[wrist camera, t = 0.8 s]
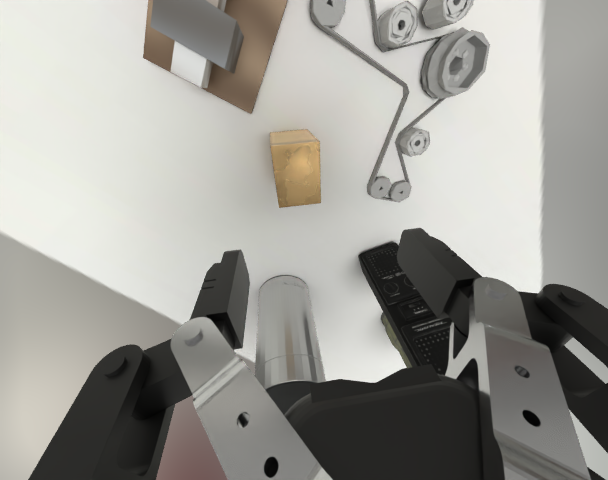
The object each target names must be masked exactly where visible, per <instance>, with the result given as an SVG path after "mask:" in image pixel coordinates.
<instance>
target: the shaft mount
mask: <svg viewBox="0 0 608 480" xmlns="http://www.w3.org/2000/svg"><path fill="white" fill-rule="evenodd" d="M287 1H288V0H148V10H147V21H146V32H145V43H144V54H143V58H144V59H146V60H148V61H150V62H152V63H154V64H156V65H158V66H160V67H162V68H164V69H166V70H168V71H169V72H171V73H173V74H175V75H177V76H179V77H181V78H183V79H185V80H187V81H189V82H191V83H193V84H194V85H196V86H198V87H200V88H202V89H204V90H206V91H208V92H210V93H212V94H214V95H216V96H218V97H220V98H221V99H223V100H225V101H227V102H229V103H231V104H233V105H235V106H237V107H239V108H241V109H243V110H245V111H247V112H248V113H250V114H251V113H252V110H253V107H254V104H255V101H256V98H257V95H258V92H259V88H260V85H261V82H262V79H263V76H264V73H265V70H266V67H267V63H268V60H269V57H270V54H271V51H272V48H273V45H274V42H275V38H276V35H277V32H278V29H279V26H280V23H281V20H282V17H283V13H284V10H285V7H286V4H287Z"/></svg>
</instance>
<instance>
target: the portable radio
mask: <svg viewBox="0 0 608 480" xmlns="http://www.w3.org/2000/svg"><path fill="white" fill-rule="evenodd" d="M398 248H399V246H398V245H397V244H396V243H391V244H388V245H386V246H383V247H380V248H377V249H374V250H371V251H369V252H366V253H363V254H360V255H359V260H360V264H361V268H362V271H363V273H364V275H365V277H366V279H367V281H368V283H369V286H370V287H371V289H372V291H373V293H374V295H375V297H376V298H377V300H378V302H379V304H380V306H381V308H382V310H383V312H384V314H385V316H386V318H387V320H388V322H389V323H390V325H391V327H392V329H393V331H394V333H395V335H396V337H397V339H398V341H399V343H400V345H401V347H402V348H403V350H404V352H405V354H406V356H407V358H408V360H409V362H410V364H411V366H412V367H417V366H423V365H429V364H432V366H433V368H434V369H435V371H436V373H437V374H440V375H444V376H445V374H446V371H447V368H448V362H449V343H450V326H451V323H452V320H451V318H450V317H449V318H443V319H438V318H437V317H436V315H435V314H434V312H433V311H432V310H431V308H430V307H429V306H428V304H427V303H426V302H425V300H424V299H423V297H422V296H421V295H420V293H419V292H418V291H417V289H416V288H415V286H414V285H413V284H412V282H411V281H410V280H409V278H408V277H407V275H406V274H405V273H404V271H403V270H402V269H401V267H400V266H399V264H398V261H397V252H398Z"/></svg>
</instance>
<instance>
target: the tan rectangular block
mask: <svg viewBox="0 0 608 480" xmlns="http://www.w3.org/2000/svg"><path fill="white" fill-rule="evenodd" d="M270 146H271V153H272V161H273V168H274V175H275V182H276V189H277V197H278V204H279V208H281V207H290V206H299V205H308V204H317V203H321V189H320V141H319V140H317V139H316V138H315V137H314V136H313V135H312V134H311V133H310V132H309V131H308V130H307V129H305V130H294V131H282V132H271V133H270Z"/></svg>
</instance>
